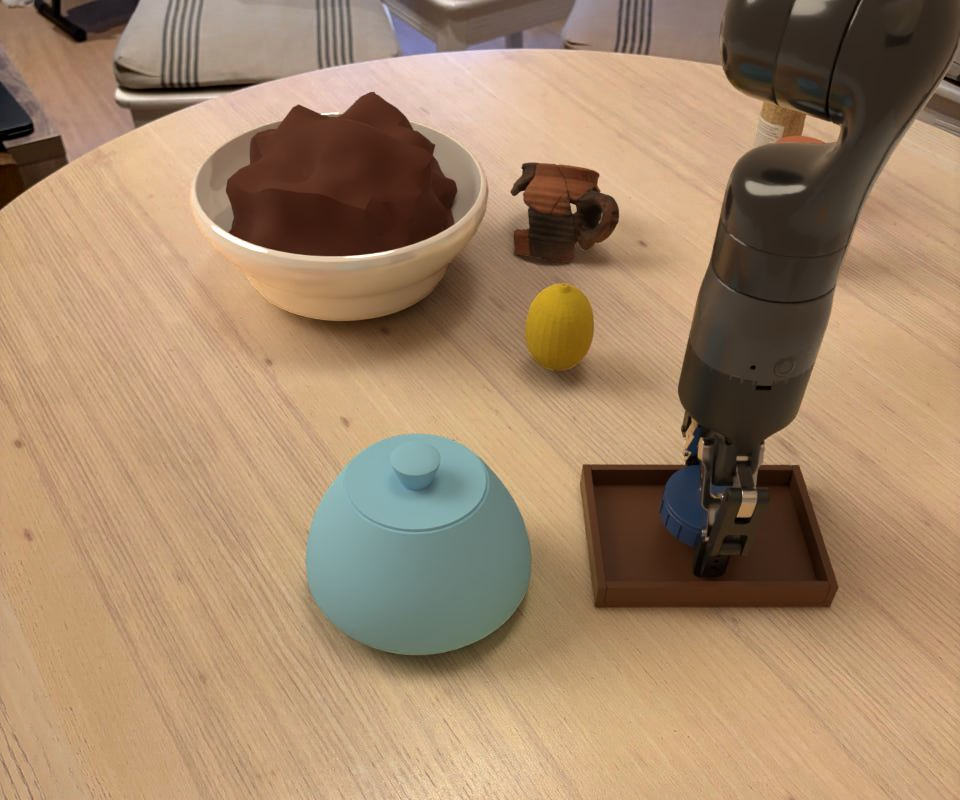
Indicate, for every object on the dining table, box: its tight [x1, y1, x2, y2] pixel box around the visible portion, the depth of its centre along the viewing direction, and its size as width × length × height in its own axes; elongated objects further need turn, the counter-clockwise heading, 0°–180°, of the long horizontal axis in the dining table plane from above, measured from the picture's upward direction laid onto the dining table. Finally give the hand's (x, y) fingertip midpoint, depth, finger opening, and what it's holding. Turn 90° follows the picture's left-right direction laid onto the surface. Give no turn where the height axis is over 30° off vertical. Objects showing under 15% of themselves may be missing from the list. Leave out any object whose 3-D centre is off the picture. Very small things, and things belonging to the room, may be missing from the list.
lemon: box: [524, 282, 595, 372], centre depth 82 cm, size 6×6×8 cm
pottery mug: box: [509, 161, 620, 263], centre depth 96 cm, size 12×10×8 cm
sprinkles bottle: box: [751, 101, 807, 150], centre depth 98 cm, size 5×5×13 cm
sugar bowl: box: [305, 433, 532, 656], centre depth 66 cm, size 15×15×12 cm
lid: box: [659, 464, 733, 548], centre depth 71 cm, size 6×6×2 cm
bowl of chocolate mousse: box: [189, 91, 489, 322], centre depth 87 cm, size 25×25×15 cm
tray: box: [579, 463, 840, 608], centre depth 72 cm, size 16×12×2 cm
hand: (699, 536), depth 73 cm, fingers closed on lid, 6 cm apart
